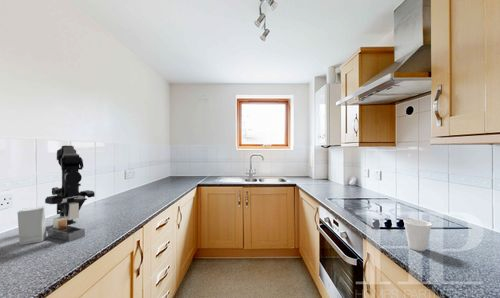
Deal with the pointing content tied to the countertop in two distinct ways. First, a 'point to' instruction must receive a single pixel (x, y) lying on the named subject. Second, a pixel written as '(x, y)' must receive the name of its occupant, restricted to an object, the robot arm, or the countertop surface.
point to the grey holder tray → (64, 230)
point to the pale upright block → (72, 211)
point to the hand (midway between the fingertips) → (71, 215)
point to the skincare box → (31, 225)
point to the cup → (417, 233)
